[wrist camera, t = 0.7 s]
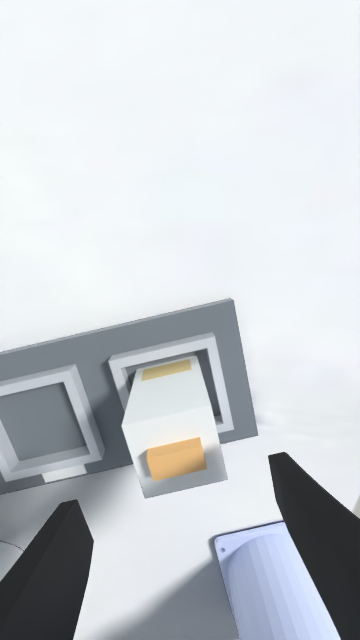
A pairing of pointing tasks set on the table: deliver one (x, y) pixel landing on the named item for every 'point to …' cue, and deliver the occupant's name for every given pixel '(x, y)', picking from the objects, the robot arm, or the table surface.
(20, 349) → the panel
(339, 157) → the table surface
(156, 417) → the plug
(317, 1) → the table surface
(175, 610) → the table surface
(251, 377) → the table surface
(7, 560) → the coffee cup
